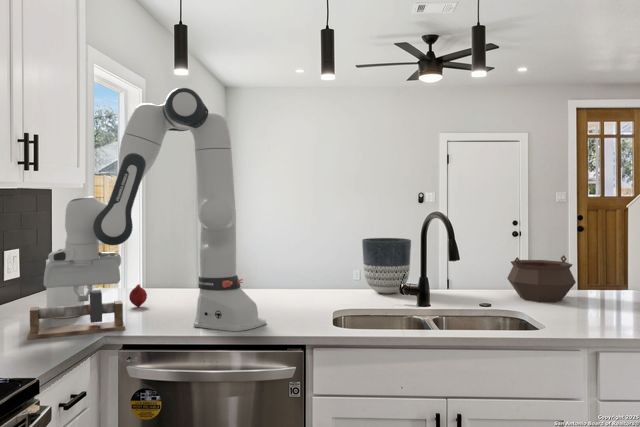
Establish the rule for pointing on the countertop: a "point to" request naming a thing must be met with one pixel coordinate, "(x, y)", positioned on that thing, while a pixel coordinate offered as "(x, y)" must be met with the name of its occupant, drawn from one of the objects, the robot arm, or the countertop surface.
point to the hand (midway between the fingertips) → (83, 301)
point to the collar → (96, 306)
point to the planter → (386, 263)
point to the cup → (63, 296)
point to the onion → (138, 296)
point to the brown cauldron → (541, 279)
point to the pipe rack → (69, 311)
